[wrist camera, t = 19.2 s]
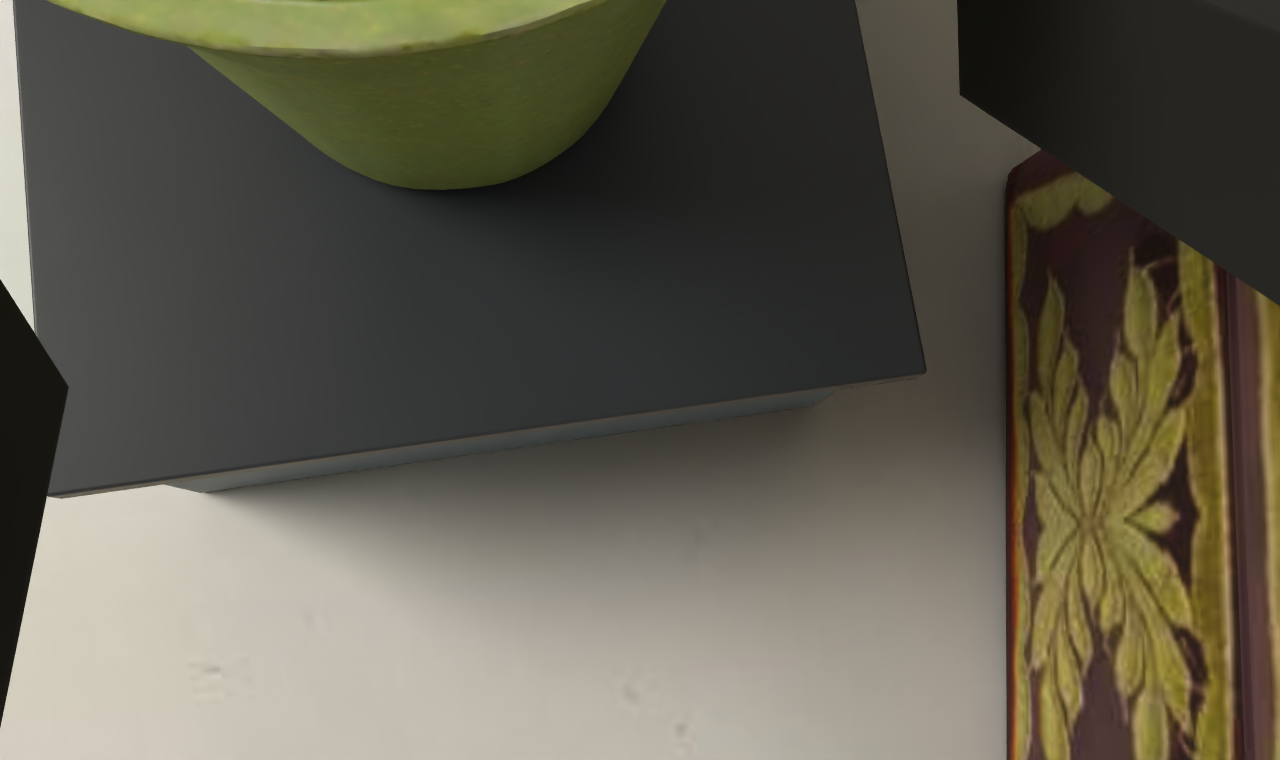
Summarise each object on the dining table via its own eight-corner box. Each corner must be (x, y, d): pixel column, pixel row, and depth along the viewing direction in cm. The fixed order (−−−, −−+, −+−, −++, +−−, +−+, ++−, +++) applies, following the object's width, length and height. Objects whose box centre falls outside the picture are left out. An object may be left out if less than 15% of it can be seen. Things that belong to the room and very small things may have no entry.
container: (177, 518, 27) (43, 497, 20) (125, -102, 29) (-10, -311, 22) (839, 423, 28) (928, 372, 21) (734, -159, 31) (783, -372, 24)
